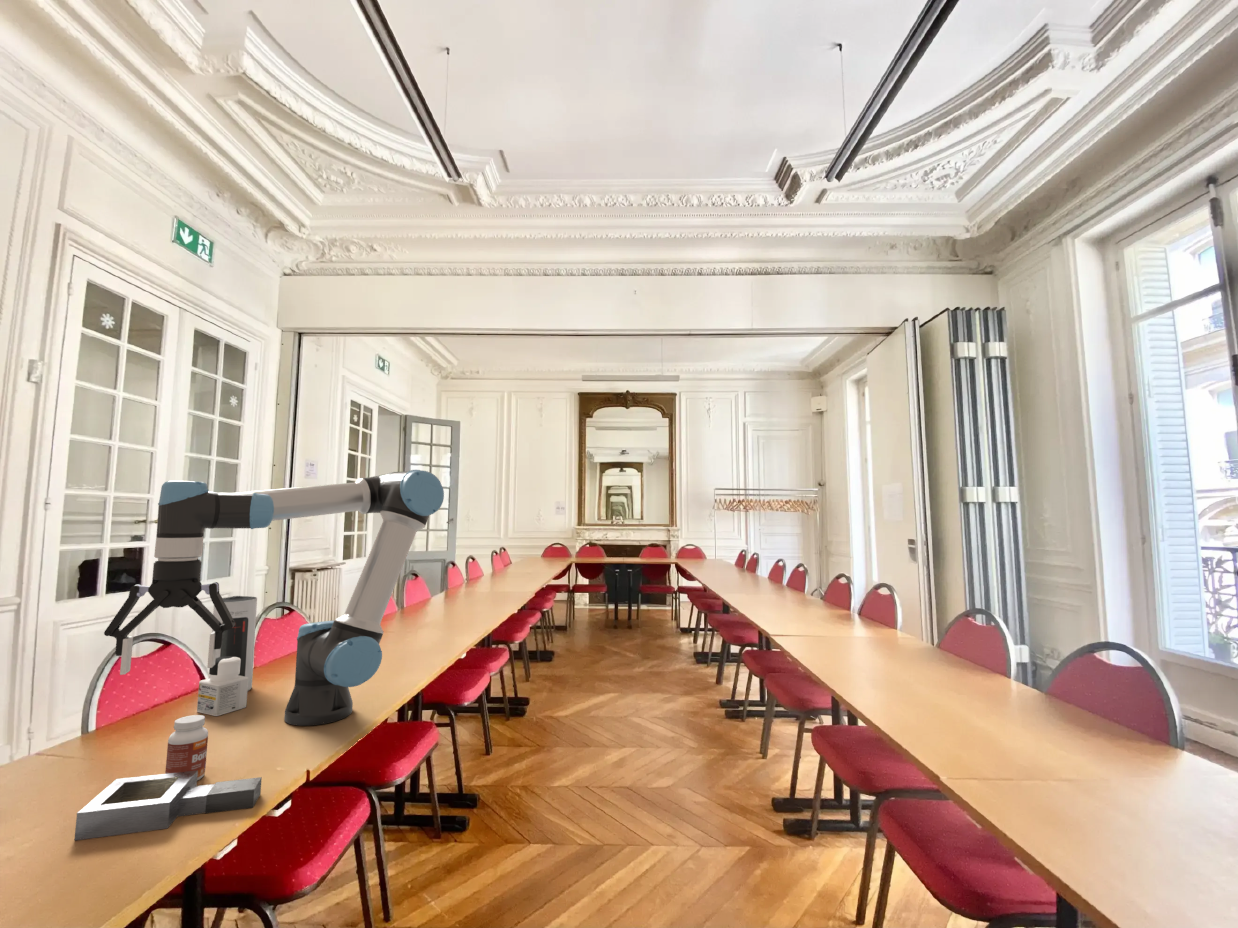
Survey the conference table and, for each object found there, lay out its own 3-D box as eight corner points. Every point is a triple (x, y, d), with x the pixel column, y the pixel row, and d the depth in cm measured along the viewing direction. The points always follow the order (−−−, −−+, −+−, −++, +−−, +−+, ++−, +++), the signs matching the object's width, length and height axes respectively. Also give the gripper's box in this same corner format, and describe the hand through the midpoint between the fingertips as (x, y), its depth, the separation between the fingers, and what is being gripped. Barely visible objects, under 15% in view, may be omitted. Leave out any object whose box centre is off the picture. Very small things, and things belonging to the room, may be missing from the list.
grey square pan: (265, 785, 107) (267, 763, 107) (246, 818, 95) (248, 792, 96) (114, 803, 99) (116, 779, 100) (74, 840, 88) (76, 813, 88)
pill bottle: (195, 785, 106) (200, 723, 107) (157, 788, 105) (162, 725, 106) (211, 771, 112) (215, 712, 113) (174, 773, 111) (179, 714, 112)
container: (196, 712, 144) (200, 659, 145) (226, 703, 151) (230, 652, 153) (216, 717, 141) (220, 662, 142) (246, 707, 148) (250, 656, 150)
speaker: (202, 698, 155) (209, 600, 157) (211, 687, 164) (218, 595, 166) (248, 694, 159) (255, 598, 161) (254, 684, 168) (261, 593, 171)
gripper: (255, 556, 122) (248, 659, 120) (105, 558, 112) (95, 670, 110) (249, 559, 115) (241, 668, 113) (88, 561, 105) (77, 681, 103)
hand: (169, 669), depth 111 cm, fingers open, 13 cm apart
